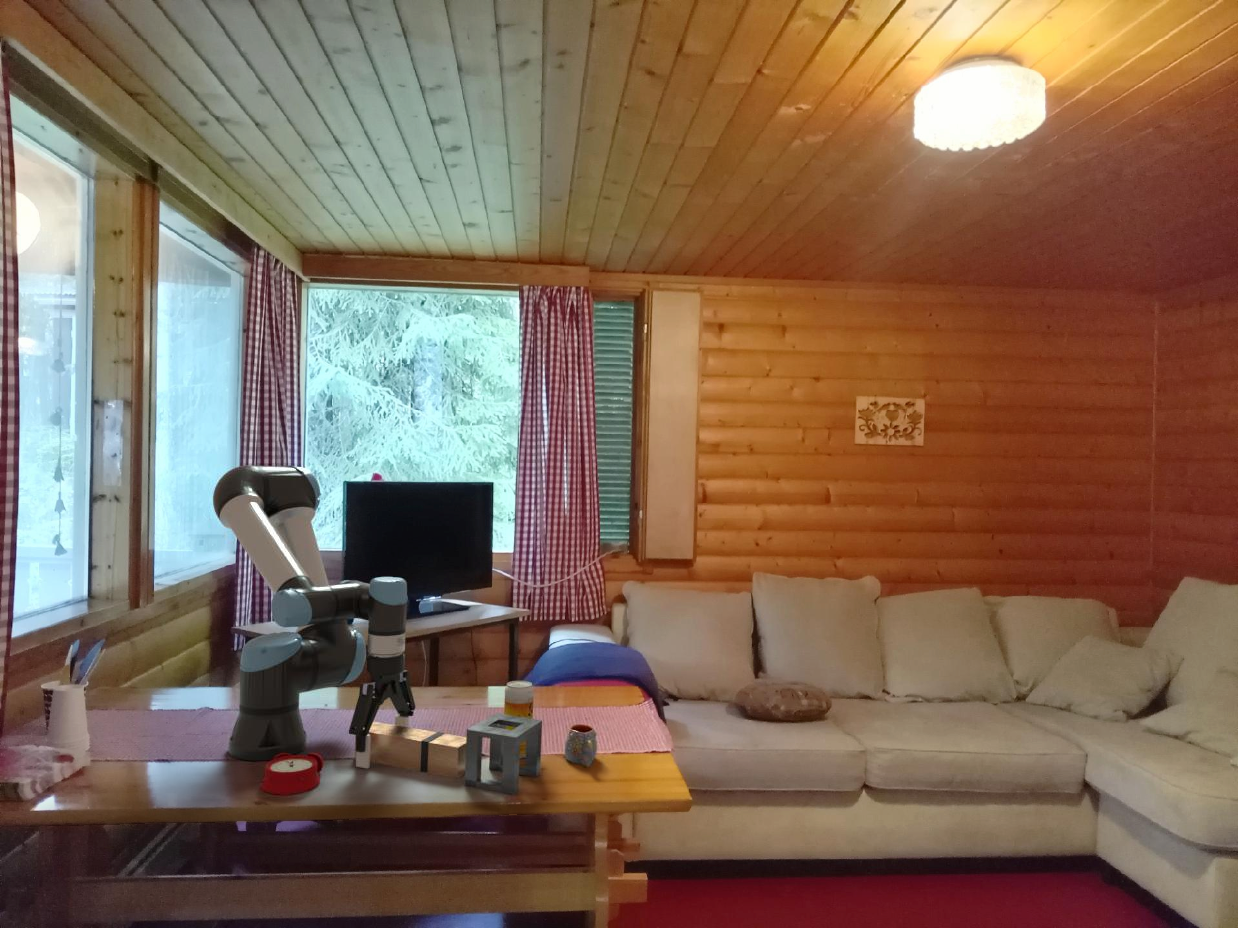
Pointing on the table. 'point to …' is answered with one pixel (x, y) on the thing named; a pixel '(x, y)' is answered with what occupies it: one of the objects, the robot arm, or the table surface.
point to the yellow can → (519, 704)
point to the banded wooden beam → (417, 749)
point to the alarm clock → (292, 773)
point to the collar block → (503, 751)
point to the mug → (581, 744)
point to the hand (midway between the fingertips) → (382, 756)
